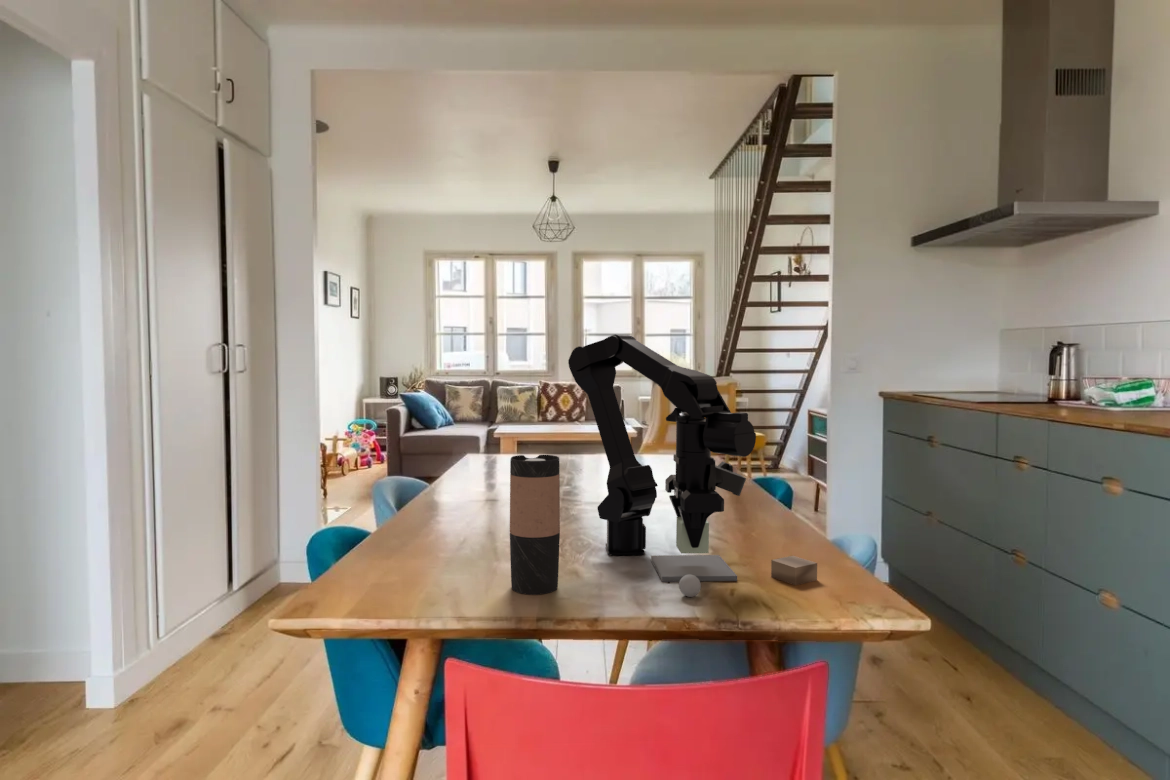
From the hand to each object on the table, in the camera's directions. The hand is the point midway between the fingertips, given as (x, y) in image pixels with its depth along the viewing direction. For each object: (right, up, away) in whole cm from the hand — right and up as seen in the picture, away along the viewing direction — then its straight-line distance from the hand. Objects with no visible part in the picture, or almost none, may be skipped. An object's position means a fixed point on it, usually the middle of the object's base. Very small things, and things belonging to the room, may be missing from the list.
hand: (691, 543), depth 119 cm
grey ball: (-2, -3, -13) cm, 14 cm away
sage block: (0, -1, 0) cm, 1 cm away
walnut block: (+16, -5, -4) cm, 17 cm away
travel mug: (-25, -5, -9) cm, 28 cm away
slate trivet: (0, -4, 0) cm, 4 cm away
